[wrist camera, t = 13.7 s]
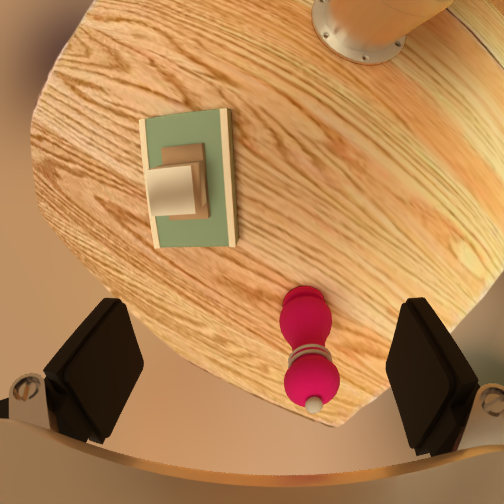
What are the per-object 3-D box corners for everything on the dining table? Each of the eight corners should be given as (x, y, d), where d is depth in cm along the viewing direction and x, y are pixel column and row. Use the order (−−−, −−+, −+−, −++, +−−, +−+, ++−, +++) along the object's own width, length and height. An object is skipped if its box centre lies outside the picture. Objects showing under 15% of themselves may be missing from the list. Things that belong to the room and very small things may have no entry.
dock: (149, 120, 35) (138, 119, 32) (230, 110, 34) (226, 107, 31) (163, 239, 42) (154, 248, 39) (238, 237, 41) (235, 247, 38)
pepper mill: (327, 280, 42) (355, 384, 24) (327, 321, 45) (346, 427, 26) (277, 284, 43) (274, 391, 24) (281, 324, 46) (278, 432, 27)
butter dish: (164, 147, 34) (143, 151, 28) (204, 142, 33) (189, 145, 27) (172, 217, 37) (154, 234, 31) (210, 215, 37) (197, 232, 31)
